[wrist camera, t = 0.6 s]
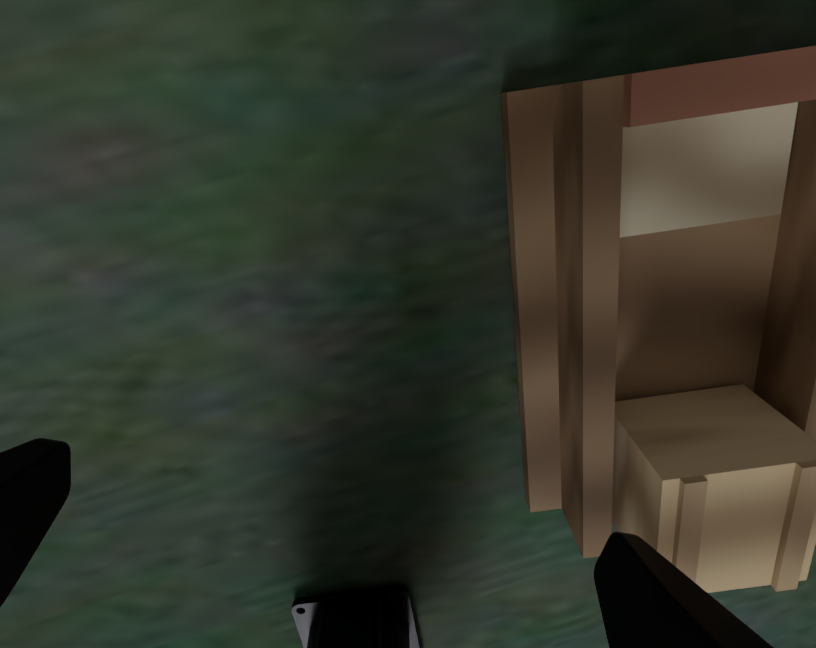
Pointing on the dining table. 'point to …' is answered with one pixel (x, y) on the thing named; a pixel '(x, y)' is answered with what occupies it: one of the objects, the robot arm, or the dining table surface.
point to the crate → (717, 486)
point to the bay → (657, 256)
